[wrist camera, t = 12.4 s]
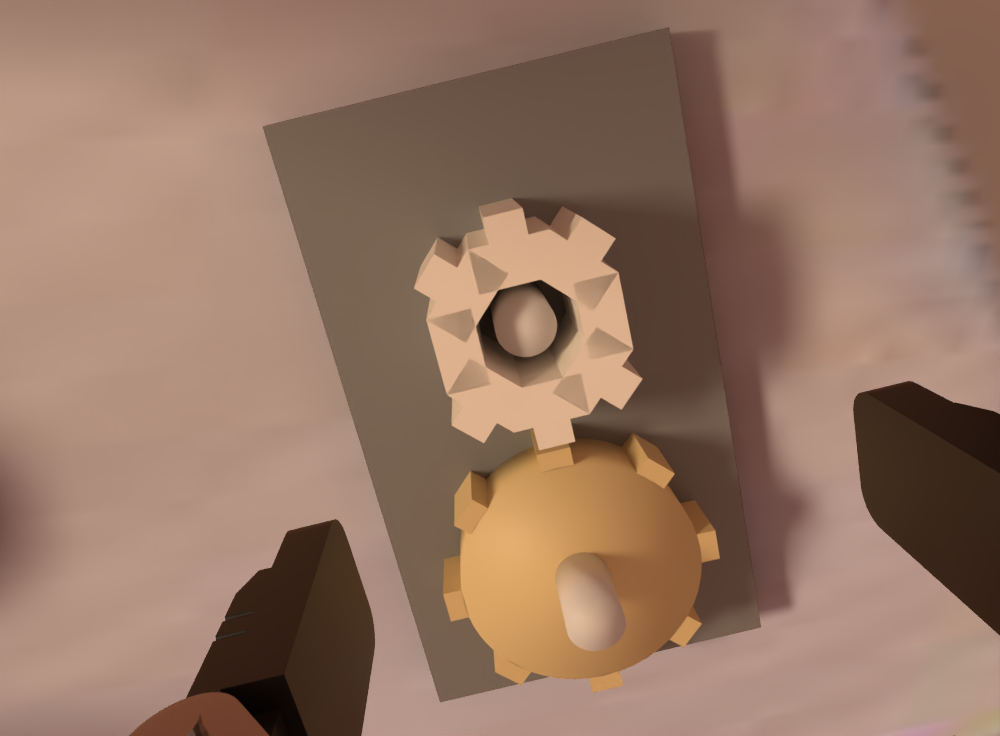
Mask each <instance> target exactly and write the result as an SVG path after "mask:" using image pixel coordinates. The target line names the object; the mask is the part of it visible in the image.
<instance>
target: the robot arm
mask: <svg viewBox="0 0 1000 736" xmlns="http://www.w3.org/2000/svg"><path fill="white" fill-rule="evenodd" d="M853 411H854V422H855V432H856V442H857V452H858V462H859V471H860V481H861V489H862V494H863V498H864V501H865V503H866V506H867V508H868V511H869V513H870V514H871V516H872V518H873V519H874V521H875V522H876V524H877V525H878V526H879V527H880V528H881V529H882V530H883V531H884V532H885V533H886V534H887V535H889V536H890V537H891V538H892V539H893V540H894V541H895V542H896V543H897V544H899V545H900V546H901V547H902V548H903V549H904V550H905V551H906V552H908V553H909V554H910V555H911V556H912V557H913V558H914V559H915V560H916V561H918V562H919V563H920V564H921V565H922V566H923V567H924V568H925V569H926V570H928V571H929V572H930V573H931V574H932V575H933V576H934V577H935V578H936V579H938V580H939V581H940V582H941V583H942V584H943V585H944V586H945V587H946V588H948V589H949V590H950V591H951V592H952V593H953V594H954V595H955V596H957V597H958V598H959V599H960V600H961V601H962V602H963V603H964V604H965V605H967V606H968V607H969V608H970V609H971V610H972V611H973V612H974V613H975V614H977V615H978V616H979V617H980V618H981V619H982V620H983V621H984V622H985V623H987V624H988V625H989V626H990V627H991V628H992V629H993V630H994V631H995V632H997V633H998V634H999V635H1000V414H998V413H996V412H994V411H990V410H986V409H981V408H977V407H973V406H968V405H964V404H959V403H953V402H951V401H949V400H947V399H945V398H943V397H942V396H940V395H938V394H936V393H934V392H932V391H930V390H928V389H926V388H924V387H922V386H920V385H918V384H916V383H914V382H912V381H907V382H903V383H899V384H895V385H891V386H886V387H882V388H878V389H874V390H870V391H866V392H862V393H859V394H858V395H857V396H856V398H855V400H854V407H853ZM374 649H375V632H374V624H373V618H372V613H371V609H370V606H369V602H368V600H367V597H366V594H365V591H364V588H363V585H362V582H361V579H360V576H359V573H358V570H357V567H356V564H355V561H354V558H353V555H352V552H351V549H350V546H349V543H348V540H347V537H346V534H345V531H344V529H343V527H342V525H341V524H340V522H339V521H338V520H336V519H335V520H331V521H327V522H323V523H319V524H315V525H310V526H306V527H302V528H298V529H294V530H290V531H288V532H287V533H286V535H285V537H284V540H283V542H282V544H281V547H280V549H279V552H278V554H277V556H276V559H275V561H274V563H273V566H272V568H268V569H264V570H260V571H258V572H257V573H256V574H255V575H254V576H253V577H252V578H251V579H250V580H249V581H248V582H247V583H246V584H245V585H244V586H243V587H242V588H241V589H240V590H239V591H238V592H237V593H236V595H235V597H234V599H233V601H232V603H231V605H230V607H229V609H228V612H227V614H226V616H225V621H224V622H222V624H221V626H220V628H219V630H218V632H217V635H216V641H214V642H213V643H212V645H211V647H210V649H209V651H208V653H207V655H206V658H205V660H204V662H203V664H202V666H201V668H200V670H199V672H198V674H197V676H196V678H195V681H194V683H193V685H192V687H191V689H190V691H189V693H188V695H187V697H186V699H183V700H180V701H178V702H176V703H174V704H172V705H170V706H168V707H166V708H164V709H163V710H161V711H159V712H158V713H156V714H155V715H153V716H152V717H150V718H149V719H148V720H146V721H145V722H144V723H143V724H141V725H140V726H139V727H138V728H137V729H136V730H135V731H134V732H133V733H131V734H130V735H129V736H361V734H362V728H363V721H364V715H365V708H366V702H367V695H368V689H369V682H370V675H371V669H372V662H373V656H374Z"/></svg>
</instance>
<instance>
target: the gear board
mask: <svg viewBox="0 0 1000 736" xmlns="http://www.w3.org/2000/svg"><path fill="white" fill-rule="evenodd" d="M263 129H264V132H265V136H266V139H267V142H268V145H269V148H270V152H271V155H272V158H273V161H274V165H275V168H276V171H277V174H278V178H279V181H280V184H281V187H282V191H283V194H284V197H285V200H286V204H287V207H288V210H289V213H290V217H291V220H292V223H293V226H294V230H295V233H296V236H297V239H298V243H299V246H300V249H301V252H302V256H303V259H304V262H305V265H306V268H307V272H308V275H309V278H310V281H311V285H312V288H313V291H314V294H315V298H316V301H317V304H318V307H319V311H320V314H321V317H322V320H323V324H324V327H325V330H326V333H327V337H328V340H329V343H330V346H331V350H332V353H333V356H334V359H335V363H336V366H337V369H338V372H339V376H340V379H341V382H342V385H343V388H344V392H345V395H346V398H347V401H348V405H349V408H350V411H351V414H352V418H353V421H354V424H355V427H356V431H357V434H358V437H359V440H360V444H361V447H362V450H363V453H364V457H365V460H366V463H367V466H368V470H369V473H370V476H371V479H372V483H373V486H374V489H375V492H376V496H377V499H378V502H379V505H380V508H381V512H382V515H383V518H384V521H385V525H386V528H387V531H388V534H389V538H390V541H391V544H392V547H393V551H394V554H395V557H396V560H397V564H398V567H399V570H400V573H401V577H402V580H403V583H404V586H405V590H406V593H407V596H408V599H409V603H410V606H411V609H412V612H413V616H414V619H415V622H416V625H417V628H418V632H419V635H420V638H421V641H422V645H423V648H424V651H425V654H426V658H427V661H428V664H429V667H430V671H431V674H432V677H433V680H434V684H435V687H436V690H437V693H438V697H439V700H440V702H443V701H448V700H452V699H456V698H460V697H465V696H469V695H473V694H478V693H482V692H486V691H490V690H495V689H499V688H503V687H508V686H512V685H516V684H520V685H522V684H523V683H525V682H529V681H533V680H537V679H542V678H546V677H555V678H564V679H582V678H589V679H590V683H591V687H592V691H593V692H597V691H601V690H606V689H610V688H614V687H618V686H623V684H622V680H621V675H620V671H621V670H623V669H626V668H628V667H630V666H633V665H635V664H637V663H638V662H640V661H642V660H644V659H646V658H647V657H649V656H650V655H651V654H653V653H654V652H657V651H662V650H666V649H670V648H675V647H679V646H682V647H684V646H685V645H687V644H692V643H696V642H700V641H704V640H709V639H713V638H717V637H722V636H726V635H730V634H734V633H739V632H743V631H747V630H752V629H756V628H760V627H761V624H760V617H759V610H758V604H757V597H756V591H755V584H754V578H753V571H752V565H751V558H750V552H749V545H748V539H747V532H746V526H745V519H744V513H743V506H742V500H741V493H740V487H739V480H738V474H737V467H736V461H735V454H734V448H733V441H732V434H731V428H730V421H729V415H728V408H727V402H726V395H725V389H724V382H723V376H722V369H721V363H720V356H719V350H718V343H717V337H716V330H715V324H714V317H713V311H712V304H711V298H710V291H709V285H708V278H707V272H706V265H705V258H704V252H703V245H702V239H701V232H700V226H699V219H698V213H697V206H696V200H695V193H694V187H693V180H692V174H691V167H690V161H689V154H688V148H687V141H686V135H685V128H684V122H683V115H682V109H681V102H680V95H679V89H678V82H677V76H676V69H675V63H674V56H673V50H672V43H671V37H670V30H669V27H668V28H664V29H660V30H656V31H652V32H648V33H644V34H639V35H635V36H631V37H627V38H623V39H619V40H615V41H611V42H607V43H603V44H598V45H594V46H590V47H586V48H582V49H578V50H574V51H570V52H566V53H562V54H557V55H553V56H549V57H545V58H541V59H537V60H533V61H529V62H525V63H521V64H516V65H512V66H508V67H504V68H500V69H496V70H492V71H488V72H484V73H480V74H475V75H471V76H467V77H463V78H459V79H455V80H451V81H447V82H443V83H438V84H434V85H430V86H426V87H422V88H418V89H414V90H410V91H406V92H402V93H397V94H393V95H389V96H385V97H381V98H377V99H373V100H369V101H365V102H361V103H356V104H352V105H348V106H344V107H340V108H336V109H332V110H328V111H324V112H320V113H315V114H311V115H307V116H303V117H299V118H295V119H291V120H287V121H283V122H279V123H274V124H270V125H266V126H263ZM510 198H512V199H513V200H514V201H516V202H517V203H518V204H519V205H520V206H521V207H522V208H523V212H524V217H525V219H526V218H530V217H534V216H535V217H537V218H538V219H540V220H541V221H543V222H545V223H546V224H548V225H549V226H550V225H551V223H552V222H553V220H554V218H555V217H556V215H557V214H558V212H559V210H560V209H561V207H562V206H563V207H564V208H566V209H568V210H570V211H572V212H573V213H575V214H577V215H579V216H581V217H583V218H584V219H586V220H587V221H589V222H590V223H592V224H594V225H595V226H597V227H598V228H600V229H601V230H603V231H605V232H606V233H608V234H609V235H611V236H612V237H614V238H616V239H615V240H614V242H613V243H612V245H611V247H610V248H609V250H608V251H607V253H606V254H605V256H604V257H603V259H602V260H603V261H604V262H606V263H607V264H608V265H610V266H611V267H612V268H614V269H615V270H616V271H618V272H619V278H620V283H621V288H622V293H623V298H624V304H625V309H626V314H627V319H628V324H629V329H630V334H631V340H632V345H633V351H632V352H631V354H630V355H629V357H628V358H627V360H628V361H629V362H630V364H631V365H632V366H633V367H634V369H635V370H636V371H637V372H638V374H639V375H640V376H641V377H642V381H641V382H640V383H639V385H638V386H637V388H636V389H635V391H634V392H633V394H632V395H631V397H630V398H629V400H628V401H627V403H626V404H625V405H624V407H623V408H622V410H621V409H619V408H618V407H616V406H614V405H613V404H611V403H609V402H607V401H606V400H604V399H602V398H600V400H599V401H598V403H597V404H596V406H595V407H594V409H593V410H592V412H591V413H590V414H588V415H584V416H580V417H576V418H572V419H570V420H571V425H572V429H573V434H574V438H575V442H571V443H567V444H563V445H559V446H555V447H551V448H547V449H543V450H539V448H538V445H537V441H536V437H535V434H534V430H533V428H531V429H527V430H523V431H519V432H515V433H514V432H512V431H510V430H509V429H507V428H505V427H503V426H501V425H500V424H498V423H497V424H496V425H495V427H494V428H493V430H492V432H491V433H490V435H489V436H488V438H487V439H486V441H485V442H484V443H482V442H481V441H479V440H477V439H475V438H473V437H472V436H470V435H468V434H466V433H464V432H462V431H461V430H459V429H457V428H455V427H453V426H452V398H451V397H449V396H448V395H447V394H446V390H445V386H444V383H443V379H442V376H441V372H440V368H439V365H438V361H437V357H436V354H435V350H434V346H433V343H432V339H431V335H430V332H429V328H428V324H427V321H426V318H427V312H428V307H429V301H430V298H429V297H428V296H426V295H424V294H423V293H421V292H419V291H417V290H416V289H414V286H415V283H416V280H417V276H418V273H419V270H420V267H421V265H422V263H423V261H424V260H425V258H426V256H427V254H428V253H429V251H430V249H431V248H432V246H433V244H434V242H435V241H436V239H437V237H438V238H440V239H442V240H443V241H445V242H447V243H448V244H450V245H452V246H453V247H455V248H458V247H459V245H460V243H461V242H462V240H463V238H464V236H465V235H466V233H469V232H473V231H477V230H481V229H484V227H483V222H482V218H481V214H480V210H479V206H482V205H486V204H490V203H494V202H498V201H502V200H506V199H510ZM565 313H566V310H565V306H564V301H563V297H562V292H560V291H559V290H557V289H556V288H554V287H552V286H551V285H549V284H547V283H546V282H544V281H542V280H537V281H533V282H529V283H525V284H521V285H517V286H513V287H509V288H505V289H501V290H498V291H497V293H496V294H495V296H494V298H493V299H492V301H491V303H490V304H489V306H488V307H487V309H486V311H485V312H484V314H483V316H482V317H481V319H480V320H479V326H480V330H481V333H482V334H484V335H485V336H487V337H489V338H491V339H492V340H494V341H496V342H497V343H499V344H500V345H501V346H502V347H503V348H504V349H505V350H506V351H508V352H509V353H511V354H513V355H516V356H520V357H531V356H535V355H538V354H540V353H542V352H543V351H545V350H546V349H547V348H548V347H549V346H550V345H551V343H552V342H553V340H554V338H555V335H556V332H557V326H558V324H559V322H560V321H561V319H562V318H563V316H564V315H565Z"/></svg>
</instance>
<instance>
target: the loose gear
mask: <svg viewBox="0 0 1000 736" xmlns="http://www.w3.org/2000/svg"><path fill="white" fill-rule="evenodd" d="M479 210H480V214H481V218H482V222H483V227H484V229H481V230H477V231H473V232H469V233H466V235H465V236H464V238H463V240H462V242H461V243H460V245H459V247H458V248H455V247H453V246H452V245H450V244H448V243H447V242H445V241H443V240H442V239H440V238H438V237H437V239H436V241H435V242H434V244H433V246H432V248H431V249H430V251H429V253H428V254H427V256H426V258H425V260H424V261H423V263H422V265H421V267H420V270H419V273H418V276H417V280H416V283H415V286H414V289H416V290H417V291H419V292H421V293H423V294H424V295H426V296H428V297H429V298H430V301H429V307H428V312H427V318H426V321H427V324H428V328H429V332H430V335H431V339H432V343H433V346H434V350H435V354H436V357H437V361H438V365H439V368H440V372H441V376H442V379H443V383H444V386H445V390H446V394H447V395H448V396H449V397H451V398H452V426H453V427H455V428H457V429H459V430H461V431H462V432H464V433H466V434H468V435H470V436H472V437H473V438H475V439H477V440H479V441H481V442H482V443H484V442H485V441H486V439H487V438H488V436H489V435H490V433H491V432H492V430H493V428H494V427H495V425H496V424H497V423H498V424H500V425H501V426H503V427H505V428H507V429H509V430H510V431H512V432H514V433H515V432H519V431H523V430H527V429H531V428H533V430H534V434H535V437H536V441H537V445H538V448H539V450H543V449H547V448H551V447H555V446H559V445H563V444H567V443H571V442H575V438H574V434H573V429H572V425H571V420H570V419H572V418H576V417H580V416H584V415H588V414H590V413H591V412H592V410H593V409H594V407H595V406H596V404H597V403H598V401H599V400H600V398H602V399H604V400H606V401H607V402H609V403H611V404H613V405H614V406H616V407H618V408H619V409H621V410H622V408H623V407H624V405H625V404H626V403H627V401H628V400H629V398H630V397H631V395H632V394H633V392H634V391H635V389H636V388H637V386H638V385H639V383H640V382H641V381H642V377H641V376H640V375H639V374H638V372H637V371H636V370H635V369H634V367H633V366H632V365H631V364H630V362H629V361H628V360H627V358H628V357H629V355H630V354H631V352H632V351H633V345H632V340H631V334H630V329H629V324H628V319H627V314H626V309H625V304H624V298H623V293H622V288H621V283H620V278H619V272H618V271H616V270H615V269H614V268H612V267H611V266H610V265H608V264H607V263H606V262H604V261H603V260H602V259H603V257H604V256H605V254H606V253H607V251H608V250H609V248H610V247H611V245H612V243H613V242H614V240H615V239H616V238H614V237H612V236H611V235H609V234H608V233H606V232H605V231H603V230H601V229H600V228H598V227H597V226H595V225H594V224H592V223H590V222H589V221H587V220H586V219H584V218H583V217H581V216H579V215H577V214H575V213H573V212H572V211H570V210H568V209H566V208H564V207H563V206H562V207H561V209H560V210H559V212H558V214H557V215H556V217H555V218H554V220H553V222H552V223H551V225H550V226H549V225H548V224H546V223H545V222H543V221H541V220H540V219H538V218H537V217H535V216H534V217H530V218H526V219H525V217H524V212H523V208H522V207H521V206H520V205H519V204H518V203H517V202H516V201H514V200H513V199H512V198H510V199H506V200H502V201H498V202H494V203H490V204H486V205H482V206H479ZM537 280H542V281H544V282H546V283H547V284H549V285H551V286H552V287H554V288H556V289H557V290H559V291H560V292H562V297H563V301H564V306H565V310H566V313H565V315H564V316H563V318H562V319H561V321H560V322H559V324H558V326H557V332H556V335H555V338H554V340H553V342H552V343H551V345H550V346H549V347H548V348H547V349H546V350H545V351H543V352H542V353H540V354H538V355H535V356H531V357H520V356H516V355H513V354H511V353H509V352H508V351H506V350H505V349H504V348H503V347H502V346H501V345H500V344H499V343H497V342H496V341H494V340H492V339H491V338H489V337H487V336H485V335H484V334H482V333H481V330H480V326H479V320H480V319H481V317H482V316H483V314H484V312H485V311H486V309H487V307H488V306H489V304H490V303H491V301H492V299H493V298H494V296H495V294H496V293H497V291H498V290H501V289H505V288H509V287H513V286H517V285H521V284H525V283H529V282H533V281H537Z"/></svg>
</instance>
